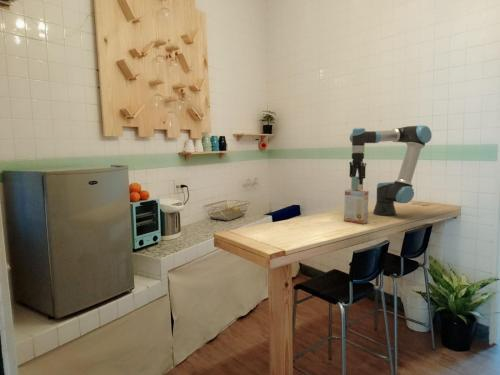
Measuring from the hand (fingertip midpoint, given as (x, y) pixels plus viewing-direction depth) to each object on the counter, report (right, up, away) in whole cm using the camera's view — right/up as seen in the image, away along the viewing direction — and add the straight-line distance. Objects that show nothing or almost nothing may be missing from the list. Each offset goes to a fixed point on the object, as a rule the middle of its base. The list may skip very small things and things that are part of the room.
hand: (356, 188), depth 215 cm
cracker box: (0, -22, +3) cm, 22 cm away
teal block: (0, 0, 0) cm, 0 cm away
